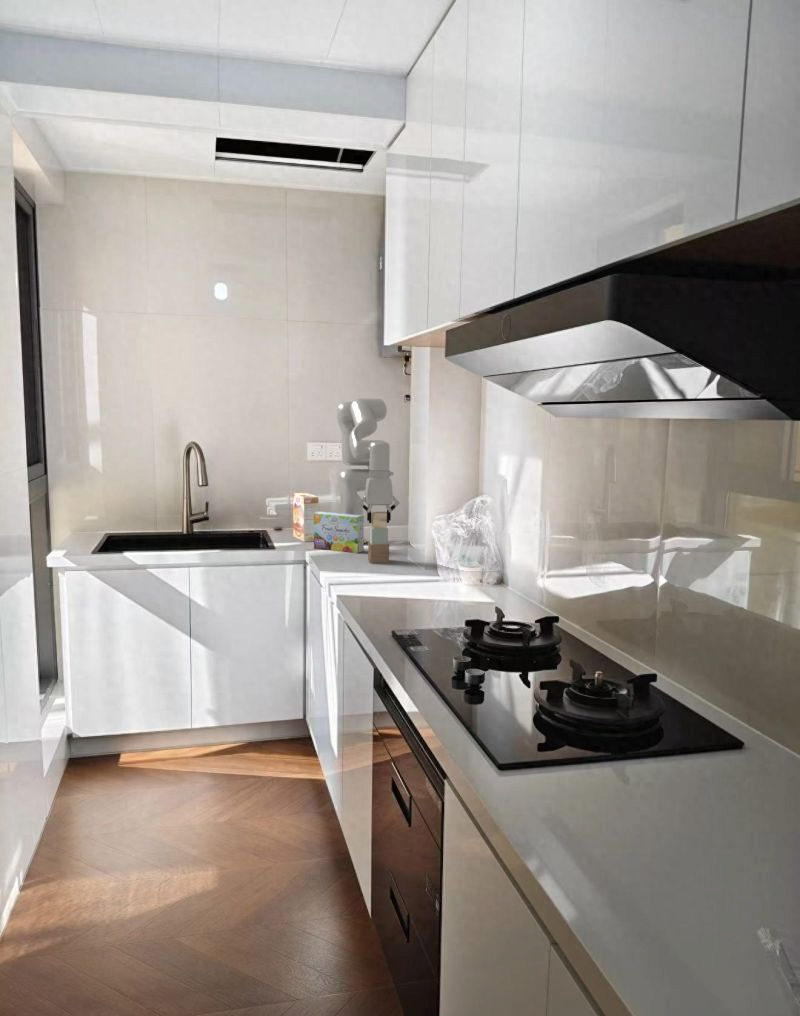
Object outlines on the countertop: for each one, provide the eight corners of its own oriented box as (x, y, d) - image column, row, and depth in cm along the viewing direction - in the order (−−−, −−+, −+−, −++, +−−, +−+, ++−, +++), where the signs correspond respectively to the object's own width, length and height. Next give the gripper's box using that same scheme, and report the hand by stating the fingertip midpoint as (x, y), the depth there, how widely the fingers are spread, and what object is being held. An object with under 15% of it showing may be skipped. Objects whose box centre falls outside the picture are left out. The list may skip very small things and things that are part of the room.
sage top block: (369, 542, 318) (369, 526, 317) (385, 542, 319) (385, 526, 318) (371, 545, 312) (371, 529, 311) (387, 544, 313) (387, 528, 312)
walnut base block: (368, 560, 319) (368, 542, 318) (386, 559, 320) (386, 541, 319) (370, 563, 312) (370, 545, 311) (388, 563, 313) (389, 544, 312)
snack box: (312, 548, 342) (312, 512, 340) (320, 546, 347) (320, 510, 345) (357, 553, 332) (357, 516, 330) (364, 551, 337) (364, 514, 335)
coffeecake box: (292, 536, 371) (292, 493, 369) (307, 536, 374) (307, 492, 372) (303, 542, 358) (303, 496, 355) (319, 541, 361) (319, 496, 358)
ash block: (371, 526, 317) (371, 511, 316) (384, 526, 317) (384, 511, 317) (373, 528, 312) (373, 512, 311) (386, 528, 312) (386, 512, 312)
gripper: (400, 474, 317) (399, 521, 319) (355, 474, 314) (355, 521, 317) (403, 475, 310) (403, 523, 312) (357, 475, 307) (357, 524, 309)
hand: (378, 522), depth 314 cm, fingers open, 6 cm apart
